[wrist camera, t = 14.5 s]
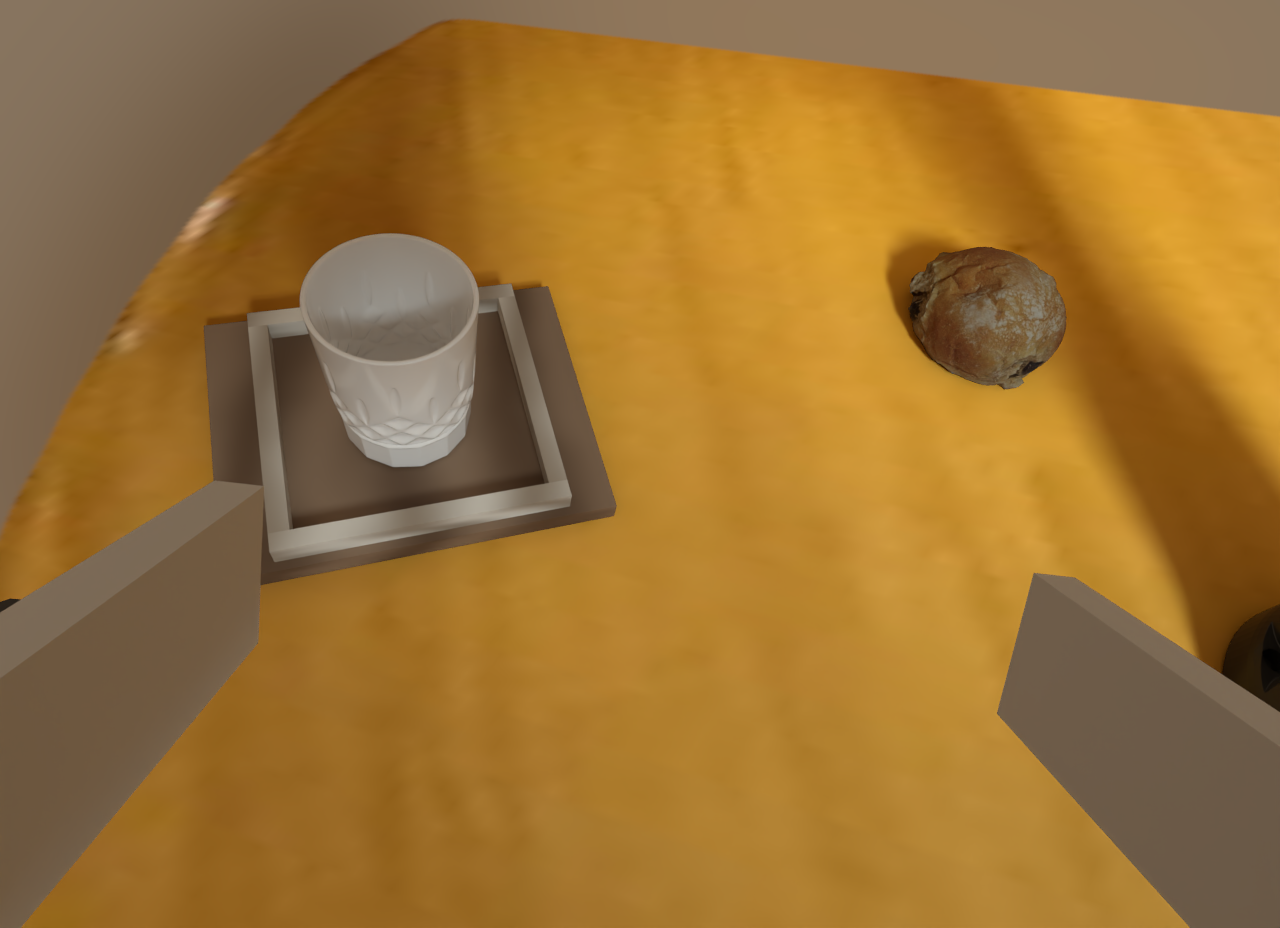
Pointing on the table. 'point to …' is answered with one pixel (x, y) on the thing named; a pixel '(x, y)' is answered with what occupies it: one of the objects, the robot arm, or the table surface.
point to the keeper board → (403, 496)
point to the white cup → (395, 343)
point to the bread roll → (987, 315)
